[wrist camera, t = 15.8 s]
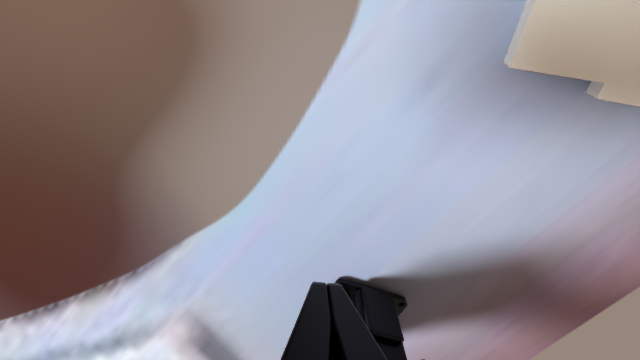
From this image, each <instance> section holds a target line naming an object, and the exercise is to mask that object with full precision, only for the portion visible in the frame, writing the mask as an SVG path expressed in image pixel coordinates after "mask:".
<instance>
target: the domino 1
mask: <svg viewBox="0 0 640 360" xmlns="http://www.w3.org/2000/svg"><path fill="white" fill-rule="evenodd" d="M639 61H640V0H527V1H526V3H525V6H524V9H523V11H522V14H521V17H520V19H519V22H518V25H517V27H516V30H515V33H514V35H513V38H512V41H511V43H510V46H509V49H508V51H507V54H506V57H505V59H504V63H505V64H506V65H507V66H508V67H509V68H514V69H520V70H526V71H533V72H539V73H545V74H551V75H557V76H563V77H569V78H576V79H582V80H588V81H594V82H600V83H606V84H613V85H619V86H625V85H626V84H627V82H628V80H629V78H630V77H631V75H632V73H633V71H634V70H635V68H636V66H637V64H638V63H639Z"/></svg>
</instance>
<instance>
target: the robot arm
mask: <svg viewBox="0 0 640 360" xmlns="http://www.w3.org/2000/svg"><path fill="white" fill-rule="evenodd" d="M406 306H407V300H406V298H405V297H402V296H399V295H396V294H392V293H389V292H385V291H382V290H379V289H375V288H372V287H369V286H365V285H362V284H359V283H355V282H352V281H348V280H345V279H339V280H337V281H336V282H335V283H328V284H327V285H326V283H322V282H313V283H312V284H311V287H310V289H309V291H308V294H307V296H306V299H305V301H304V304H303V306H302V309H301V311H300V314H299V316H298V318H297V321H296V323H295V326H294V328H293V331H292V333H291V336H290V338H289V341H288V343H287V345H286V348H285V350H284V353H283V355H282V358H281V360H407V358H406V354H405V350H404V346H403V341H404V337H403V334H402V330H401V326H400V322H399V319H398V316H399V314H400V313H401V312H402V311H403V310H404V308H405V307H406ZM423 360H425V359H423Z"/></svg>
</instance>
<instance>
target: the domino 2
mask: <svg viewBox="0 0 640 360" xmlns="http://www.w3.org/2000/svg"><path fill="white" fill-rule="evenodd" d="M586 92H587V93H588V94H590V95H591V96H593V97H594V98H595V99H600V100H605V101H611V102H616V103H622V104H627V105H633V106H639V107H640V61H639V63H638V64H637V66H636V68H635V70H634V71H633V73H632V75H631V77H630V78H629V80H628V82H627V84H626V85H625V86H619V85H613V84H606V83H600V82H594V81H591V83H590V85H589V86H588V88H587V90H586Z"/></svg>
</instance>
